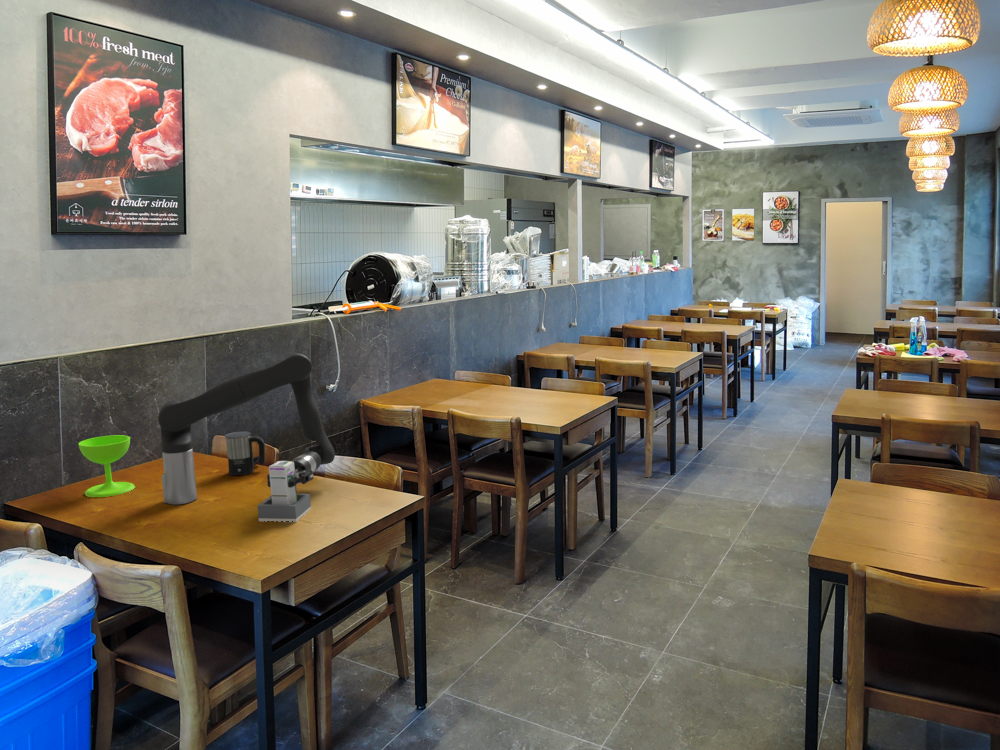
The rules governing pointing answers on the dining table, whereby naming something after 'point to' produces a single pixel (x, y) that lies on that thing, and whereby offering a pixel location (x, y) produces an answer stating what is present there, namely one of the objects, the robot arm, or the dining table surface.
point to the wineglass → (106, 462)
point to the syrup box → (282, 483)
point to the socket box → (284, 510)
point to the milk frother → (243, 452)
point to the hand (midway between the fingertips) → (279, 484)
